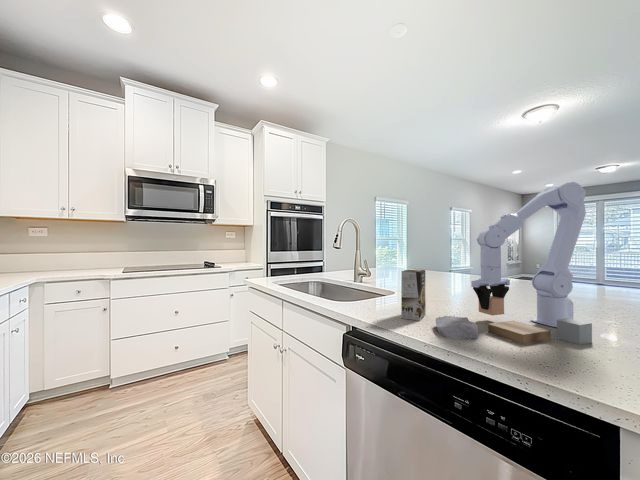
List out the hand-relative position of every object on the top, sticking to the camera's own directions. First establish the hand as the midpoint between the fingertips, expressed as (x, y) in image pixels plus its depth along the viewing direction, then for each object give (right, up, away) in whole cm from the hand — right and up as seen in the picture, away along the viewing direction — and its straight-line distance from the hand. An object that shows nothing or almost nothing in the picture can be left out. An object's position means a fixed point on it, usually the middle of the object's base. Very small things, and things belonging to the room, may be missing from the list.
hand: (491, 308), depth 90 cm
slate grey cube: (+11, -4, -17) cm, 21 cm away
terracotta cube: (0, -2, 0) cm, 2 cm away
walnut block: (-2, -5, -14) cm, 15 cm away
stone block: (-17, -5, -10) cm, 20 cm away
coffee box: (-23, -5, +6) cm, 24 cm away
